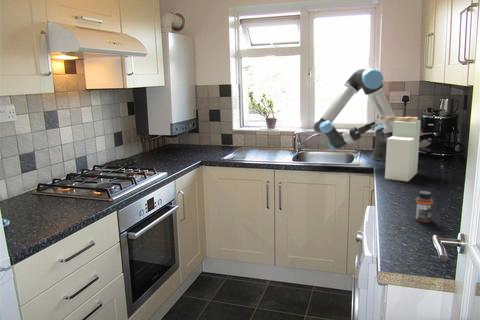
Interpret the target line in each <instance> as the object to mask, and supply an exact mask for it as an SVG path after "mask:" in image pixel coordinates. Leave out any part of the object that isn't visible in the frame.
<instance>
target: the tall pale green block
mask: <svg viewBox="0 0 480 320" xmlns="http://www.w3.org/2000/svg"><path fill="white" fill-rule="evenodd" d="M420 134H421V120H418V121H417V122H404V121H394V122H393V135H392V137H389V138H387V148H386V161H385V168H384V169H385V171H384V179H385V180H392V181H403V182H409V181H410V180H411V179H413V177H415V175H417V174H418V166H419V165H418V164H419V163H418V161H419V148H420V136H421V135H420Z"/></svg>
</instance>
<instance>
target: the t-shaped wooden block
mask: <svg viewBox="0 0 480 320" xmlns="http://www.w3.org/2000/svg"><path fill="white" fill-rule="evenodd" d="M381 120H385V121H404V122H417V121H419V116H404V117H402V116H395V117H383V116H382V117H381Z"/></svg>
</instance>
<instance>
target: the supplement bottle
mask: <svg viewBox="0 0 480 320" xmlns="http://www.w3.org/2000/svg"><path fill="white" fill-rule="evenodd" d="M418 194H419V195H418V196H417V197H416V198H415V209H414V210H415V212H414V213H415V214H414V220H416V221H417V222H419V223H422V224H423V223H424V224H425V223H431V222H432V220H433V207H434V200H433V198H432V197H431V196H432V193H431V192H430V191H427V190H426V191H425V190H423V191H422V190H420V191H419V193H418Z"/></svg>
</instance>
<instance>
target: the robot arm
mask: <svg viewBox="0 0 480 320" xmlns="http://www.w3.org/2000/svg"><path fill="white" fill-rule="evenodd" d="M383 81H384V76H383V74H382V72H381V71H380V70H378V69H375V68H360V69H357V70H355V72H353V73H352V74H351V75H350V77H349V78H348V79H347V80H346V82H344V87H343V88H342V90H340V92H339V94H337V96H336V98H335V99H334V100H333V102H332V103H331V104H330V105H329V107H328V108H327V109H326V111H325V112H324V114H323V115H322V116H321V118H320V119H319V120H318V121H316V122H314V123H313V125H312V130H313V132H314V133H316V134H317V135H318V134H319V135H322V136H325V138H326V139H327V140H328V142H327V146H328V147H329V149H330V150H331V151H333V152H334V151H335V152H336V151H338V150H340V149H342V148H344V147H346V146H347V145H352V144H353V143H354V142H356V141H358V140H360V139H361V138H362V134H365V133H367V132H368V131H370V130H371V129H374V128H375V141H374V142H375V143H374V148H373V151H372V154H371V160H373V161H378V160H380V161H379V162H386V148H387V138H389V137H392V135H393V122H394V121H385V120H381V117H382V116H383V117H396V116H395V114H394V112H393V109H392V107H391V105H390V102H389V101H388V99H387V97H386V94H385V92H384V90H383V88H384V83H383ZM360 90H362V91H363V93H364V95H366V96H368V98H369V99H370V102H371V104H372V106H373V108H374V110H375V111H376V113H377V116H378V118H376V119H374V120H373V121H371V122H369V123H367V124H365V125H363V126H360V127H358V128H357V127H355V126H354V127H352V128H350V129H348V130H346V131H344V132H342V133H340V132H339V131H338V130H337V128H336V127H335V126H334V124H333V122H334V121H335V120H336V119H337V117H338V116H339V114H340V113H341V112H342V111H343V110H344V108H345V107H346V105H347V104H348V103H349V101H351V99H352V98H353V96H354V95H356V94H358V92H359V91H360Z"/></svg>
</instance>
